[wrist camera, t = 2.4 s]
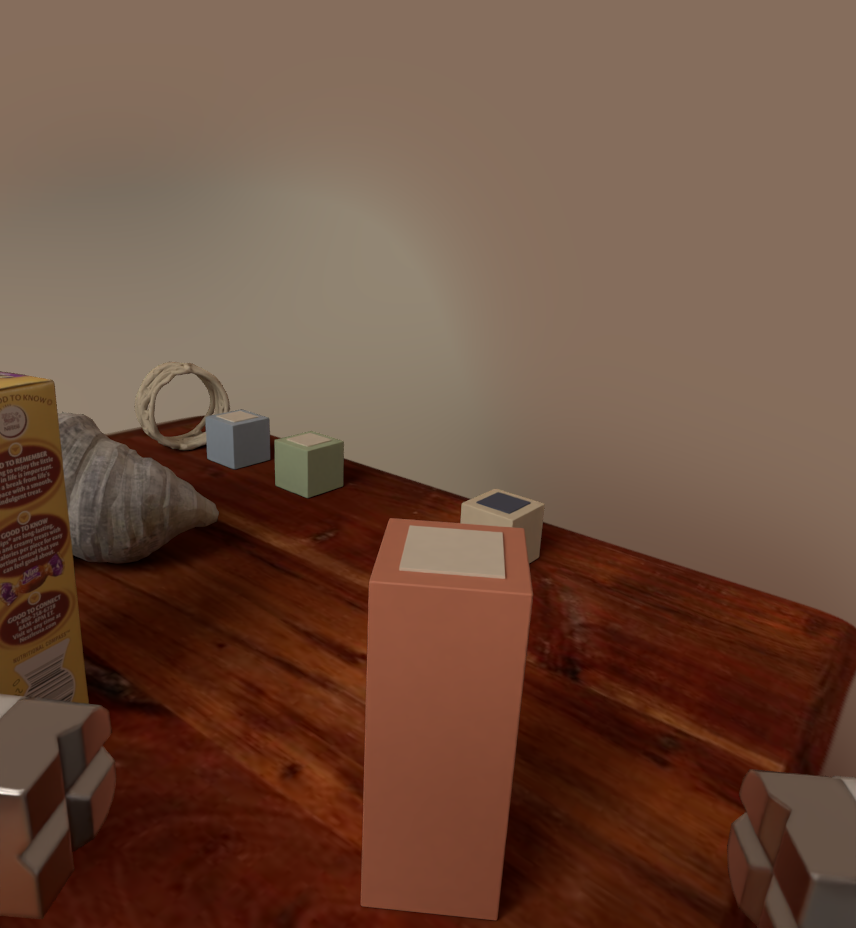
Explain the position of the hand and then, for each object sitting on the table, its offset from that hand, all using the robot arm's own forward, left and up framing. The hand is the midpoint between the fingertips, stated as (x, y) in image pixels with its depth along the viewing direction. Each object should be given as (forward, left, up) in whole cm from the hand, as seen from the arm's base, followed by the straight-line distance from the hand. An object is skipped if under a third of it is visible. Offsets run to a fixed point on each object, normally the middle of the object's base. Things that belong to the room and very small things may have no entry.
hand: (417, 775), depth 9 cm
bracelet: (+26, -55, -15) cm, 63 cm away
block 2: (+13, -48, -15) cm, 51 cm away
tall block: (0, -12, -15) cm, 19 cm away
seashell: (+26, -33, -15) cm, 45 cm away
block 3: (-3, -37, -15) cm, 40 cm away
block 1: (+20, -53, -15) cm, 59 cm away
